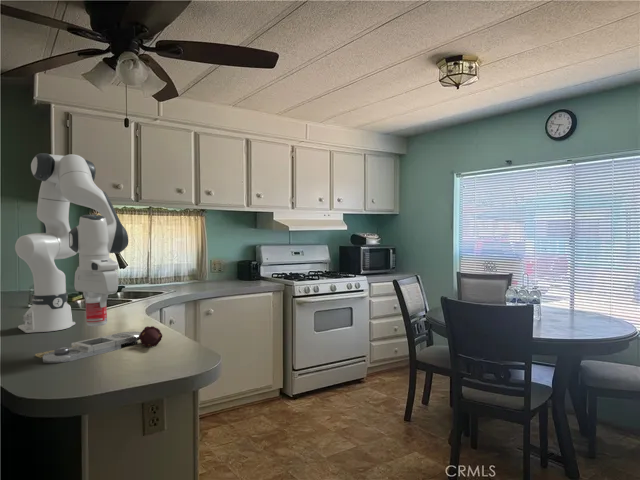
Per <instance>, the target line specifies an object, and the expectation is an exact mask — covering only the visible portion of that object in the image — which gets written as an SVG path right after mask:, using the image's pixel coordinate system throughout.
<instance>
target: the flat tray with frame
mask: <svg viewBox="0 0 640 480" xmlns="http://www.w3.org/2000/svg"><path fill="white" fill-rule="evenodd" d="M141 332H142V331H123V332H118V333H113V334H108V335H103V336H100V337H94V338H89V339H84V340H79V341H75V342H71V347H67V346H65V347H58V348H55V349H53V350H54V352H50V353H47V354H45V355H43V357H42V363H44V364H63V363H68V362H72V361H76V360H81V359H85V358H89V357H93V356H97V355H102V354H105V353H110V352H113V351H117V350H121V349H122V346H130V345H136V344H137V343H138V341H139V340H140V338H139V336H140V333H141Z"/></svg>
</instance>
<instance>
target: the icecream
mask: <svg viewBox="0 0 640 480" xmlns="http://www.w3.org/2000/svg"><path fill="white" fill-rule="evenodd" d="M140 332H141V333H140V336H139V338H140V344H141V345H142V346H145V347H148V348H152V346H153V347H156V346H158V345H159V343H160V342H161V341H162V338H163V333H162V332H161V330H160V329H159V328H157V327H156V326H153V325H151V326H145V327H144V328H143V330H142V331H140Z"/></svg>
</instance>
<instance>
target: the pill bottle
mask: <svg viewBox="0 0 640 480" xmlns="http://www.w3.org/2000/svg"><path fill="white" fill-rule="evenodd" d="M88 297H89V298H88V299H87V300H85V319H86V326H88V327H100V326H104V325H107V323H108V309H107V307H108V306H107V305H108V304H106V307H99V306H98V305H99V304H98V302H100V298H101V297H100V295H99V293H93V292H88Z"/></svg>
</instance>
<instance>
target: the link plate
mask: <svg viewBox="0 0 640 480" xmlns="http://www.w3.org/2000/svg"><path fill="white" fill-rule="evenodd" d="M54 350H55V349H53V350H48V351H42V352H39V353H38V352H37V353H35V355H34V356H35V357H37V358H40V359H41V358H43V355H45V354H47V353H50V352H54Z"/></svg>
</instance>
